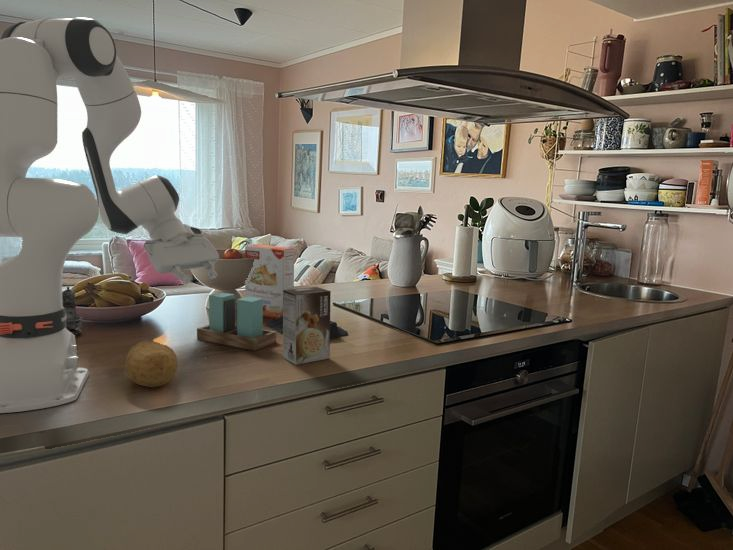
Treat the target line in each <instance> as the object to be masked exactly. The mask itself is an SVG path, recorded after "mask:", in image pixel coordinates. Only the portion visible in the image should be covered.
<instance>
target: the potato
mask: <svg viewBox="0 0 733 550" xmlns="http://www.w3.org/2000/svg"><path fill="white" fill-rule="evenodd" d="M124 364H125V372H126V373H125V374H126V376H127V377H128V378H129V380H131V381H132V382H133V383H134V384H137V385H139V386H143V387H146V388H147V387H149V388H157V387H163V386H164V385H166V384H167V383H168V382H169V381H171V380H172V379H173V378H174V377H175V376H176V374H177V373H176V372H177V369H178V359H177V355H176V353H175V351H174V350H173V348H171V347H170V346H168V345H167V344H162V343H160V342H157V341H153V340H152V341H151V340H149V341H141V342H138V343H137V344H135V345H133V346H132V347H131V348H130V349H129V351H128V353H127V356H126V359H125V363H124Z"/></svg>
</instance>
